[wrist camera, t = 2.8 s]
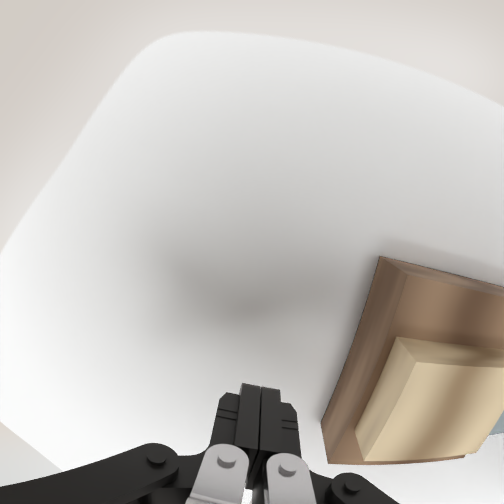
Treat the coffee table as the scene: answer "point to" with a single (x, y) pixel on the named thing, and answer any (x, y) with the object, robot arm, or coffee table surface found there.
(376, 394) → the oak tile
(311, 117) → the coffee table surface
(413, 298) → the block
